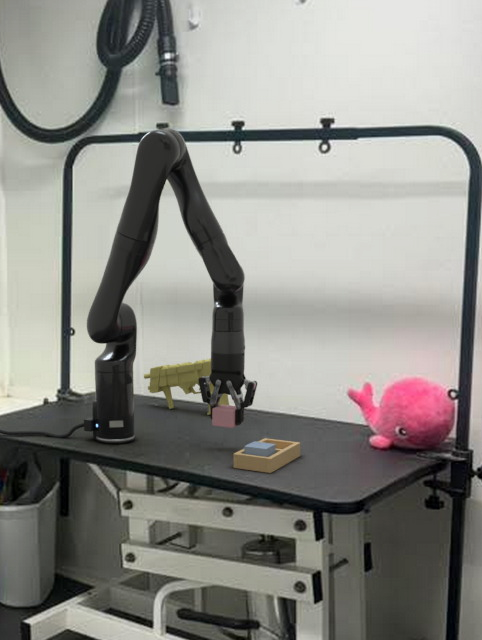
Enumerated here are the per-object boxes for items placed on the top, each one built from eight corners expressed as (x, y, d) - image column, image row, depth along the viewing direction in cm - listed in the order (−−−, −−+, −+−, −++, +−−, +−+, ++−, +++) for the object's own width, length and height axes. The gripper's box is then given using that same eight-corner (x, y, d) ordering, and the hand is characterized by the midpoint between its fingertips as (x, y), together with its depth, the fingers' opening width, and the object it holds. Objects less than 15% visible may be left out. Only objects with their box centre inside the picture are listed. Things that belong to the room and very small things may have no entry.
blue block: (244, 464, 200) (244, 446, 200) (254, 458, 204) (254, 441, 204) (265, 467, 198) (266, 448, 197) (275, 461, 201) (275, 443, 201)
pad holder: (233, 467, 200) (233, 453, 200) (264, 451, 213) (264, 438, 212) (270, 473, 195) (270, 458, 195) (300, 456, 208) (300, 442, 207)
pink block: (212, 425, 214) (212, 408, 213) (221, 421, 218) (221, 404, 217) (232, 428, 211) (232, 410, 210) (241, 423, 215) (241, 406, 214)
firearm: (158, 419, 268) (148, 367, 268) (249, 407, 249) (238, 352, 248) (149, 422, 265) (139, 370, 264) (241, 410, 246) (230, 354, 245)
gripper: (191, 349, 213) (191, 422, 216) (250, 354, 204) (249, 430, 207) (206, 345, 219) (206, 416, 222) (264, 349, 210) (263, 423, 213)
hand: (227, 422), depth 214 cm, fingers closed on pink block, 5 cm apart
